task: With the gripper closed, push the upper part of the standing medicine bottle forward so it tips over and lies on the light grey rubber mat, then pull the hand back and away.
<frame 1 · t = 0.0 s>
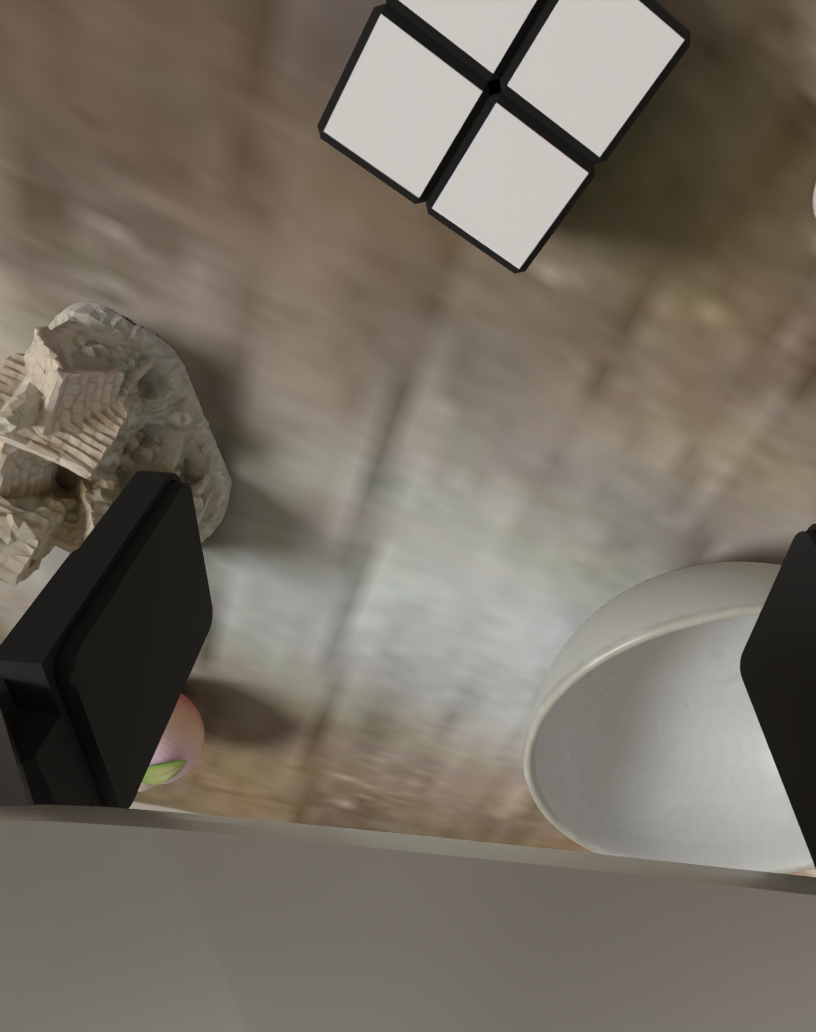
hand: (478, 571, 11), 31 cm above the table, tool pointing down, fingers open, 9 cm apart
decorative fruit: (168, 689, 63), on the table
puzzle cube: (492, 69, 34), on the table
decorative bowl: (694, 626, 53), on the table
ceramic cottage: (135, 435, 48), on the table
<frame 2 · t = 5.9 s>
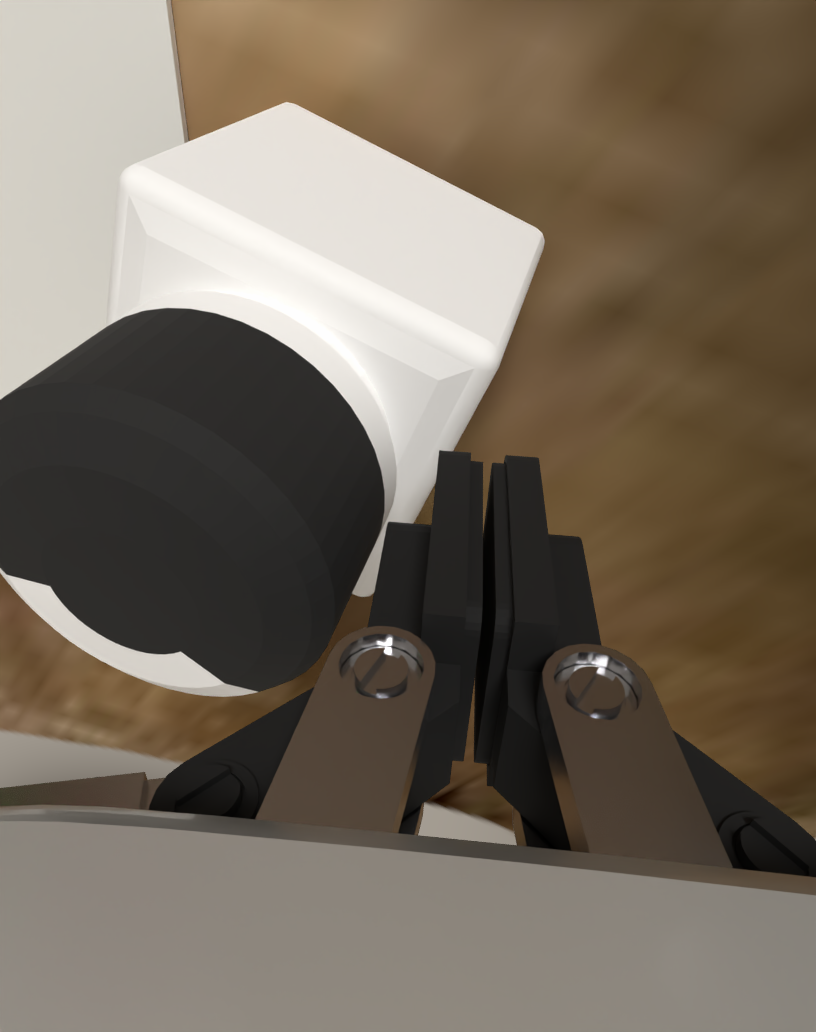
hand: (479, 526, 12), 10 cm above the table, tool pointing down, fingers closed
medicine bottle: (374, 290, 19), point 1 cm above the table
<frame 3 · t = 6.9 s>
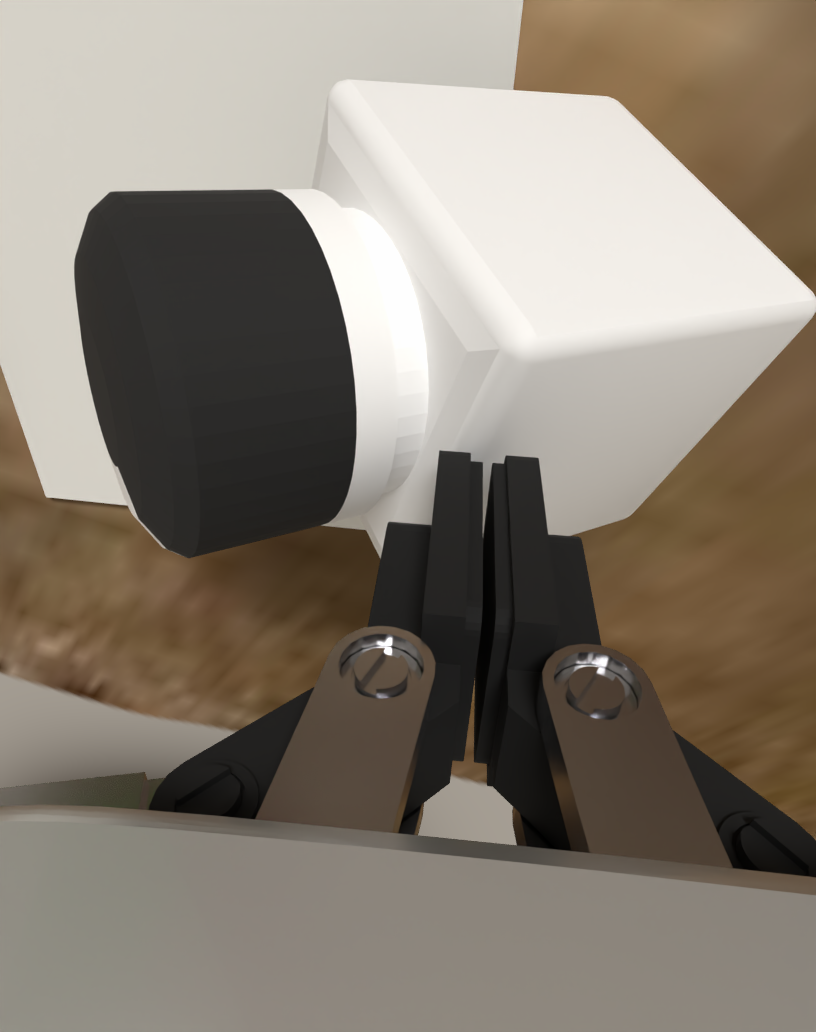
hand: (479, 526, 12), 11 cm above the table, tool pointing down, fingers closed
medicine bottle: (630, 321, 17), point 3 cm above the table, touching gripper
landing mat: (219, 242, 20), on the table
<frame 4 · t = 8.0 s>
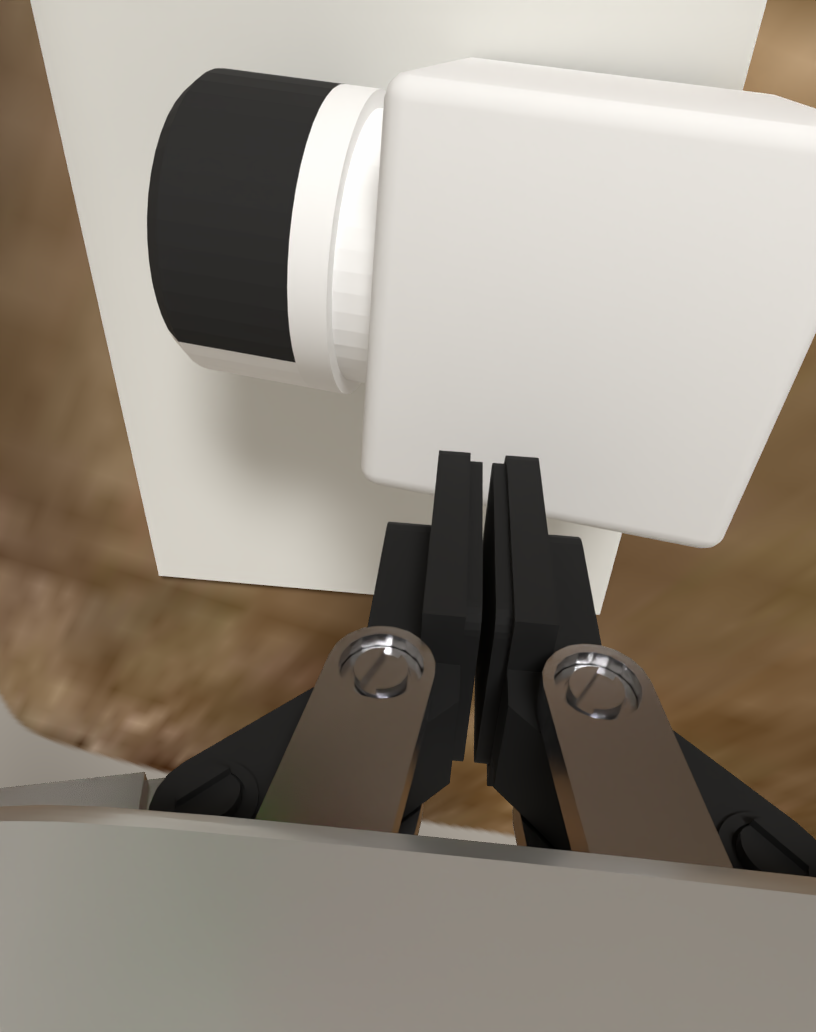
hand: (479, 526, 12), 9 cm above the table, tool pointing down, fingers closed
medicine bottle: (766, 316, 14), point 5 cm above the table, touching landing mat
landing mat: (381, 322, 20), on the table
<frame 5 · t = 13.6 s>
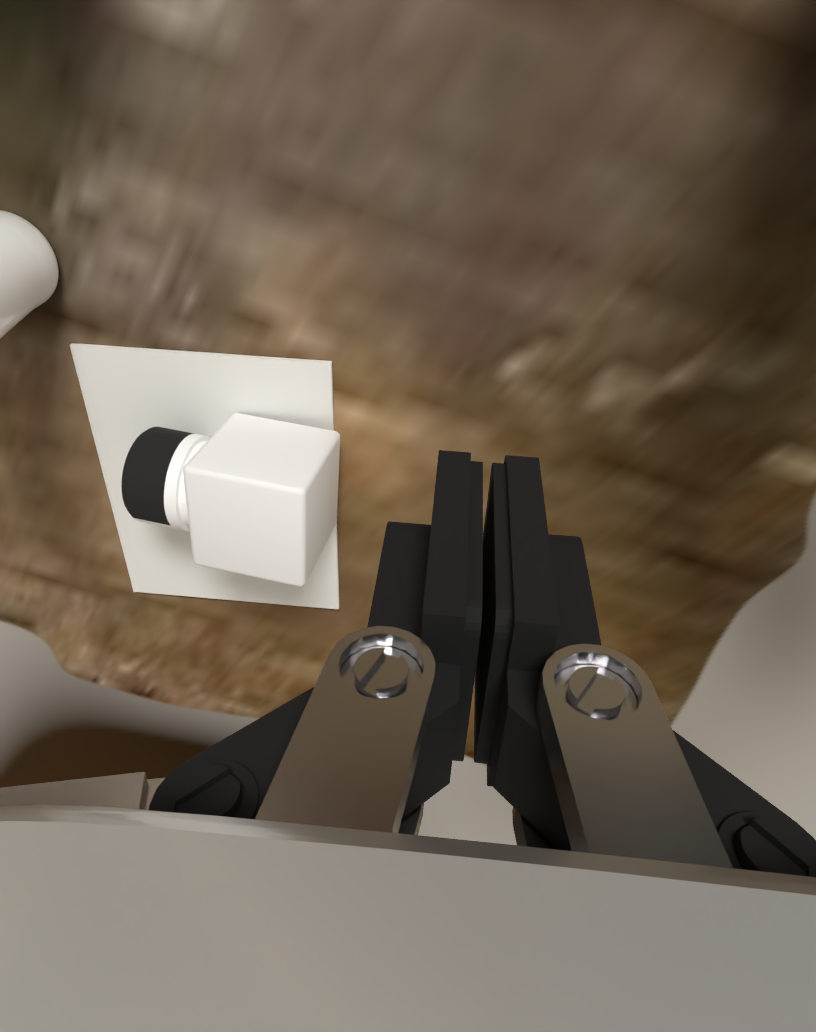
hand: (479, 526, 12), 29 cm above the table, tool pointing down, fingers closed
medicine bottle: (326, 509, 43), point 5 cm above the table, touching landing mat
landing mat: (220, 489, 48), on the table
white plastic cup: (18, 256, 40), on the table
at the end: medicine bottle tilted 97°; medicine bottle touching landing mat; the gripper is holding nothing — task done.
